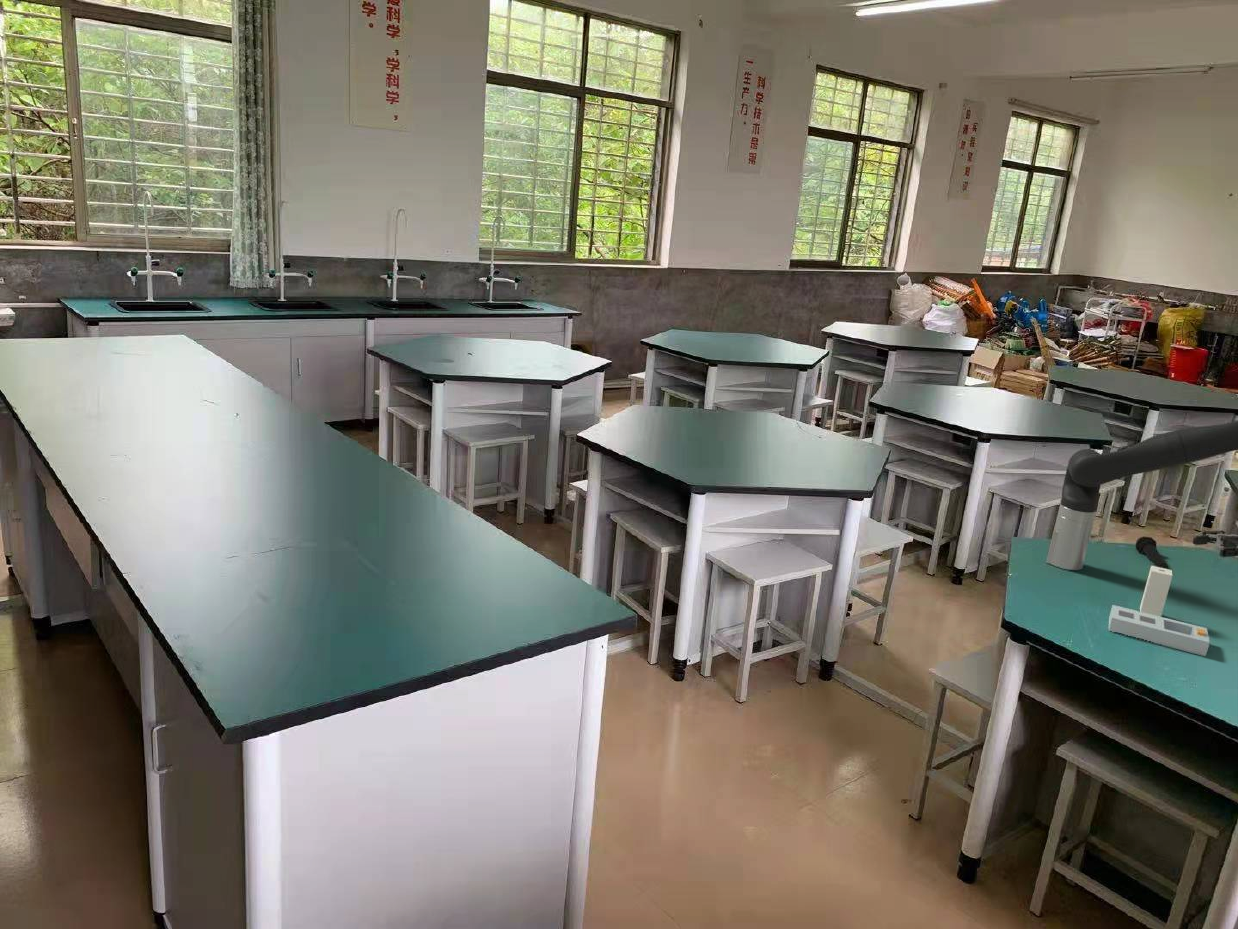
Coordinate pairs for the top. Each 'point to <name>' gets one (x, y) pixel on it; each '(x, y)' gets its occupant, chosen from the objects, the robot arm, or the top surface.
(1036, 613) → the top surface
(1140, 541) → the microphone
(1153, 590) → the block
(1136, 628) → the power strip
